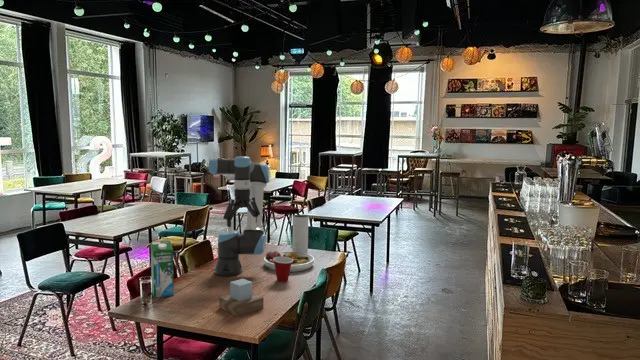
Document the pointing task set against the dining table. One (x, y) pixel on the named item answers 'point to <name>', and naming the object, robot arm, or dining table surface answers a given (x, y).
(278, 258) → the plastic cup
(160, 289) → the milk carton
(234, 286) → the slate cube
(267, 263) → the bowl
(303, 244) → the speaker
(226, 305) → the walnut block
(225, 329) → the dining table surface
